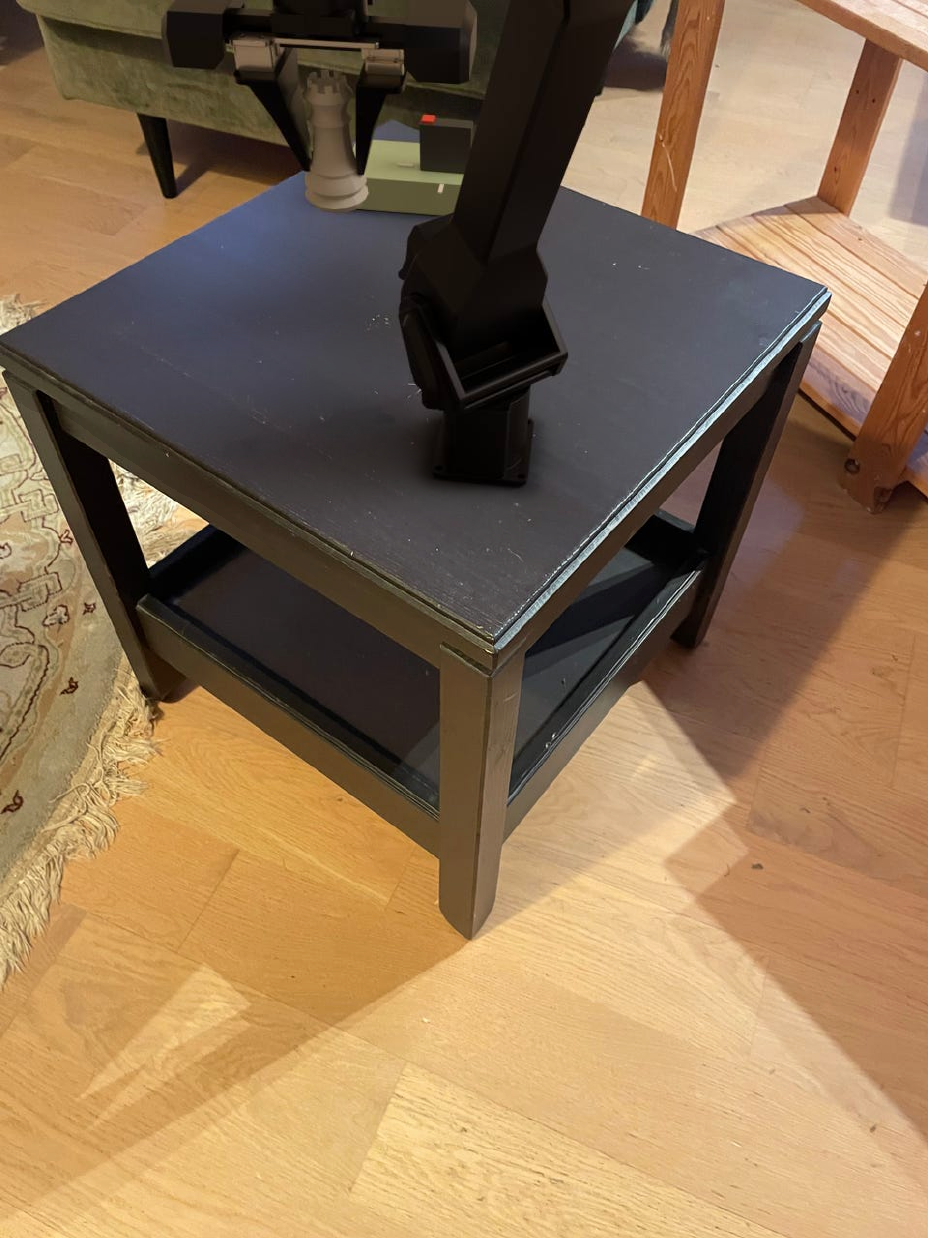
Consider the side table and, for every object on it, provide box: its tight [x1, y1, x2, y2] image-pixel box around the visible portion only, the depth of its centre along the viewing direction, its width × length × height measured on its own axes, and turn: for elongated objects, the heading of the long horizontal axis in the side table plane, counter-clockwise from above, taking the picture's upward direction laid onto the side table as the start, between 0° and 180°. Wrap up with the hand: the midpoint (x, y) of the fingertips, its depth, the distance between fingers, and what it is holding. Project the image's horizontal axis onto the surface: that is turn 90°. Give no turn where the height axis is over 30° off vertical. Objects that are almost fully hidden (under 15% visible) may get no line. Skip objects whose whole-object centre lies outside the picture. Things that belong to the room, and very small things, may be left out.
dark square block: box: [418, 114, 474, 174], centre depth 81 cm, size 4×1×4 cm, turn 82°
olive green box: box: [352, 139, 464, 216], centre depth 84 cm, size 9×13×3 cm, turn 83°
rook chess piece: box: [301, 68, 369, 214], centre depth 62 cm, size 4×4×8 cm
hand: (335, 170), depth 64 cm, fingers closed on rook chess piece, 3 cm apart
